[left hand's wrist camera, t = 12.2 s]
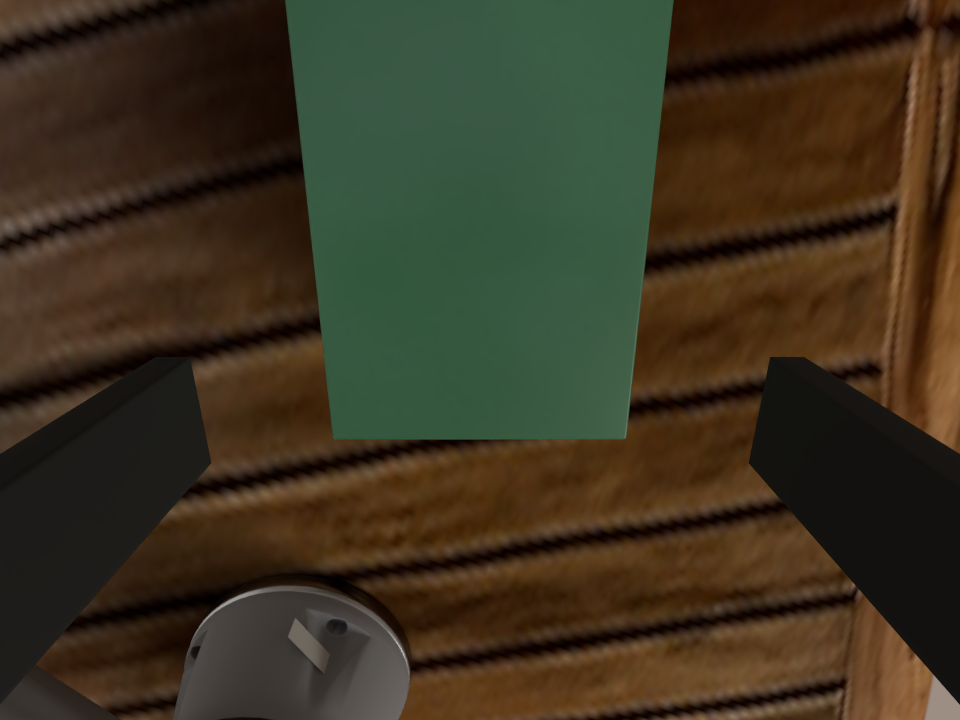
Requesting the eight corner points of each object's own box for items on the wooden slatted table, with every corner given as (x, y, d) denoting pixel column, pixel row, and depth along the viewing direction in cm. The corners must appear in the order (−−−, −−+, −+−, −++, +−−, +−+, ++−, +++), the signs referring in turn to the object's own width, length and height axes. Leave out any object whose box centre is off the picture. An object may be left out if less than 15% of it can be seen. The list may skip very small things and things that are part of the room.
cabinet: (348, -119, 23) (247, -329, 13) (610, -119, 23) (710, -329, 13) (380, 347, 31) (332, 440, 21) (578, 347, 31) (626, 440, 21)
